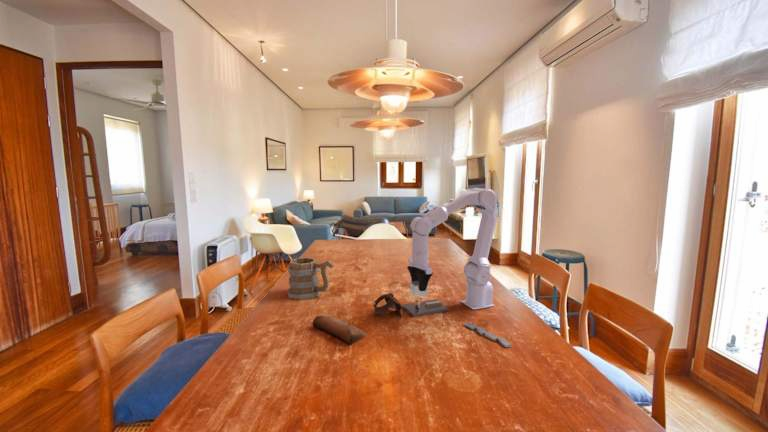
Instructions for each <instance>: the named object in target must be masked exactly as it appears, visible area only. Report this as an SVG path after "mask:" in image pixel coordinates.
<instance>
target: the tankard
mask: <svg viewBox="0 0 768 432" xmlns="http://www.w3.org/2000/svg"><path fill="white" fill-rule="evenodd" d="M334 266H335V264H334V263H333V262H331V261H330V260H326V261H325V262H322V263H319V262H318V261H317V260H316V258H313V257H296V258H292V259H290V261H289V266H288V268H287V269H288V271H287V272H288V274H289V278H288V285H289V287H290V288H288V289H287V290H286V292H287V296H288V298H289V299H293V300H299V301H301V300H309V299H314V298H316V297H317V296H319V295H320V294H321V293H323V292H324V293H326V292H327V290H328V288H329V286H330V279H329V276H328V274H327V267H329V268H330V269H332V268H333V267H334ZM319 269H320V275H321V277H322V281H323V285H322V286H321V285H319V283H320V282H319V281H320V280H319V277H318V273H319Z"/></svg>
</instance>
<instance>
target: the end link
mask: <svg viewBox="0 0 768 432" xmlns="http://www.w3.org/2000/svg"><path fill="white" fill-rule="evenodd" d="M409 293H410V294H411V295H413V296H414V297H415V298H417V297H424V296H425V297H426V296H429V284H428V285H427V288H426V291H420V289H419V281H412V280H411V281H409Z"/></svg>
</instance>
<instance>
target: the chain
mask: <svg viewBox="0 0 768 432" xmlns="http://www.w3.org/2000/svg"><path fill="white" fill-rule="evenodd" d="M464 326H465V327H467V328H469V329H471V330H472V331H475V332H477V333H478V334H479V335H480V336H483V337H485V338H487V339H489V340H490V341H493V342H498V344H500V345H501V346H503V347H504V348H511V347H512V343H511V342H510V341H508V340H507V339H505V338H504V337H500V336H497V335H495V334H494V333H492V332H490V331H486V329H484V328H483V327H482V326H478V325H476V324H474V323H473V322H471V321H468V322H465V323H464Z"/></svg>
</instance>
